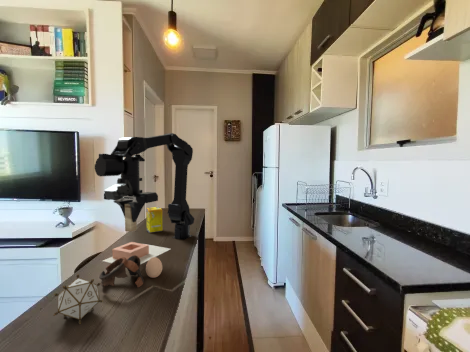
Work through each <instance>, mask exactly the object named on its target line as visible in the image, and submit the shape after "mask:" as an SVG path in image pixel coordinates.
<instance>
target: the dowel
mask: <svg viewBox="0 0 470 352" xmlns="http://www.w3.org/2000/svg"><path fill="white" fill-rule="evenodd" d="M137 220H138V219H137ZM137 220H136V222H132V212H131V206H130V205H129V204H125V217H124V226H125V227H124V231H125V232H128V233H129V232H135V231H137V225H138V224H137V223H138V222H137Z"/></svg>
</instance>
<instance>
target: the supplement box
mask: <svg viewBox="0 0 470 352" xmlns="http://www.w3.org/2000/svg"><path fill="white" fill-rule="evenodd" d="M145 210H146V211H145V212H146V216H145V217H146V232H147V233H149V234H152V233H160V232H163V231H164V230H163V228H164V227H163V208H161V207H159V206H154V207H146V209H145Z"/></svg>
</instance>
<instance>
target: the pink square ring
mask: <svg viewBox="0 0 470 352" xmlns="http://www.w3.org/2000/svg"><path fill="white" fill-rule="evenodd" d="M149 245H150V244H148V245H146V243H139V242H135V241H130V242H127V243H125V244H122V245H119V246H117V247H115V248H112V249H111V251H112V257H113V258H115V259H119V258H122V257H125V258H126V259H127V260H128V259H129V258H130V257H131V256H134V255H136V256H138V257H139V258H141V257H143V256H145V255H147V254H149Z"/></svg>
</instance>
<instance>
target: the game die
mask: <svg viewBox="0 0 470 352" xmlns="http://www.w3.org/2000/svg"><path fill="white" fill-rule="evenodd" d="M94 281H95V279H94V278H93V279H91V280H88V279H87V280H86V279H84V278H80V274H78V273H77V275H76V278H75V279H74V280H73V281H72V282H71V283H70V284H68V285H67V286H66V285H62V289H63V290H62V291H60V292H59V293H54V294H53V296H54V297H57V311H55V312H54V313H53V315H52V316H54V317H55V316H57V315H58V314H60V315H63V317H64V318H66V317H67V316H68V317H70V318H72V319H76V320H78V324H79V325H81V324H82V319H83V318H84V317H85V316H86V315H87V314H88V313H89V312H90V311H91V310H92V309H94V307H95V306H96V305H97V304H98V303H103V302H104V300H103V299H100V293H99V288H98V287H100V286H101V282H99V283H94Z"/></svg>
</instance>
